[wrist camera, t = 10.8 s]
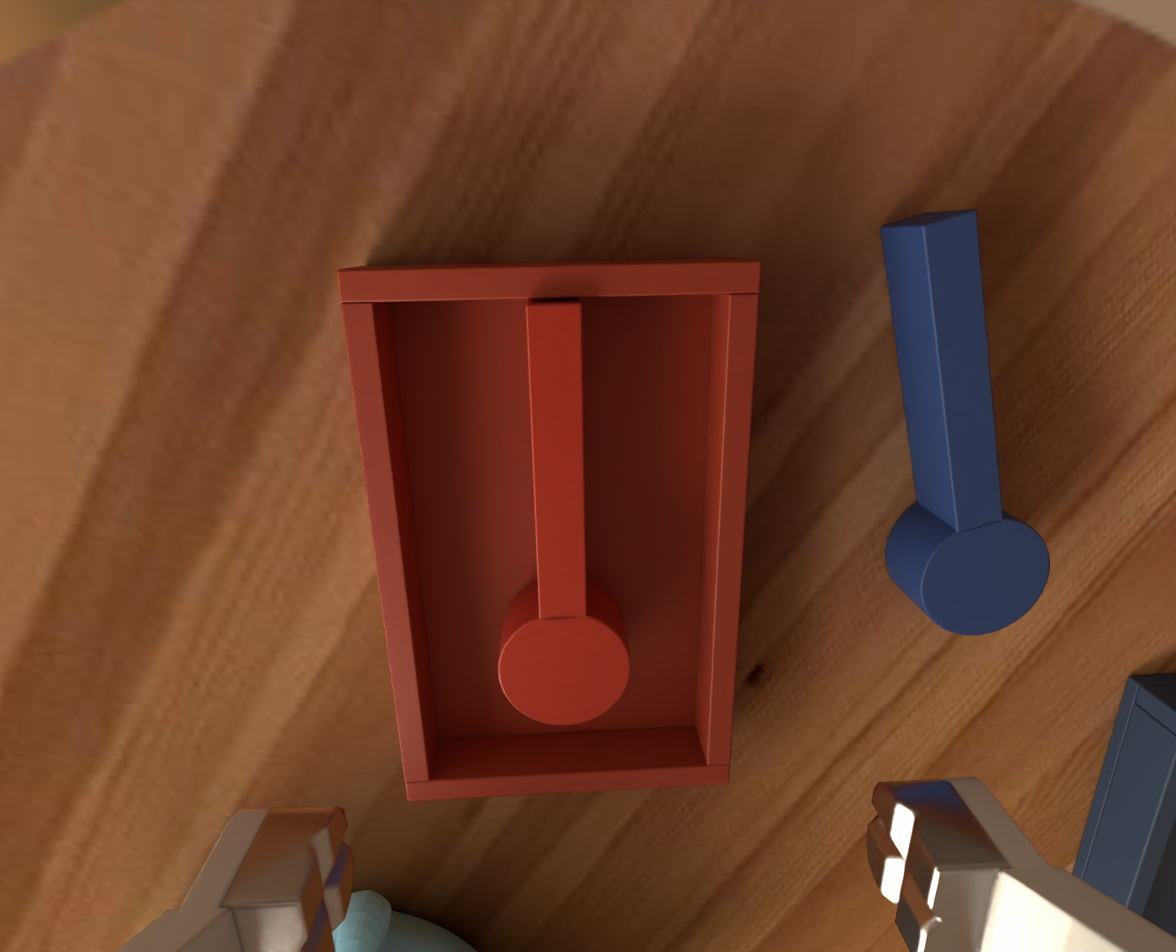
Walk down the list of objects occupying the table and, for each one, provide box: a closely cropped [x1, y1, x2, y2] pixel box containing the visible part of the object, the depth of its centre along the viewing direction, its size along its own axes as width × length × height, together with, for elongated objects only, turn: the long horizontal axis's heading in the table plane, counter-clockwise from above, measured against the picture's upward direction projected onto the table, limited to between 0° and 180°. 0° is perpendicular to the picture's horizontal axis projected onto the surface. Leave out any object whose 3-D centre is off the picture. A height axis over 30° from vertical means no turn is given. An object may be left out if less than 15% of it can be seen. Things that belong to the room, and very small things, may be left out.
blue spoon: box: [881, 210, 1050, 635], centre depth 20 cm, size 13×4×2 cm, turn 16°
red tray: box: [337, 258, 761, 801], centre depth 21 cm, size 17×11×2 cm, turn 1°
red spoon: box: [498, 297, 631, 725], centre depth 20 cm, size 13×4×2 cm, turn 1°
